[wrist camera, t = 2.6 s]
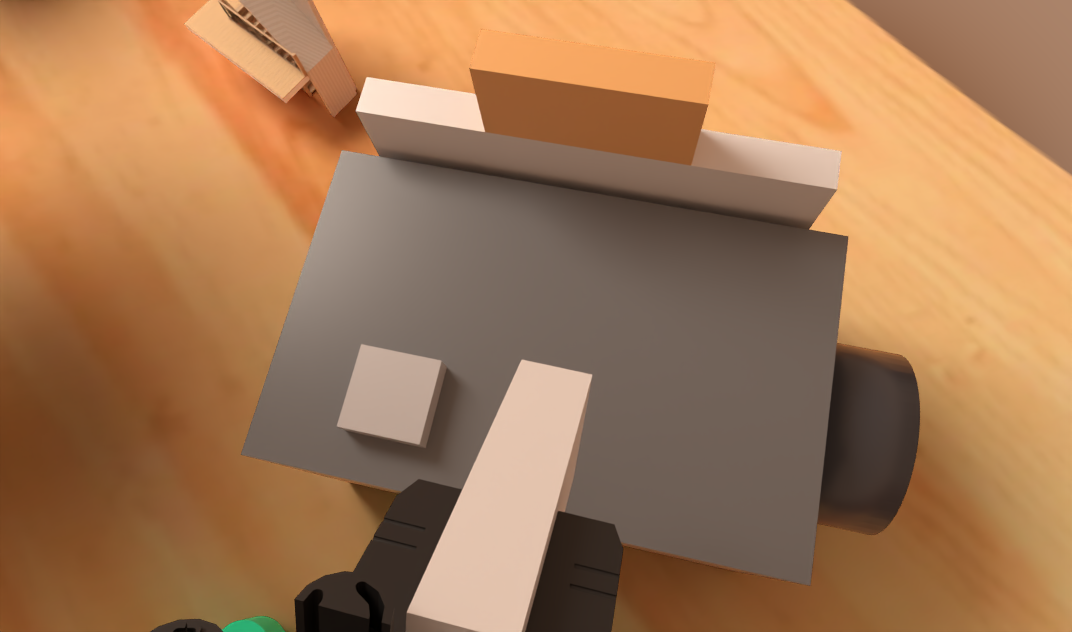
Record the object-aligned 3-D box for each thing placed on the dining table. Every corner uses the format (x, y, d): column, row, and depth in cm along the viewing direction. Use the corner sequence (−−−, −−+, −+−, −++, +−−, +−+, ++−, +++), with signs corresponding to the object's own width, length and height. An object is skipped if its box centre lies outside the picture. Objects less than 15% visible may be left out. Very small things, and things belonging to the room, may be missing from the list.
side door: (747, 315, 31) (879, 130, 17) (433, 256, 33) (320, 45, 19) (751, 289, 31) (883, 87, 17) (440, 232, 33) (334, 7, 19)
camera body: (813, 589, 28) (945, 616, 18) (348, 482, 30) (227, 451, 20) (840, 343, 31) (967, 243, 21) (411, 262, 33) (333, 137, 23)
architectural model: (315, 144, 36) (249, 46, 29) (221, 72, 38) (137, -37, 31) (362, 96, 37) (309, -11, 30) (268, 28, 38) (196, -90, 31)
